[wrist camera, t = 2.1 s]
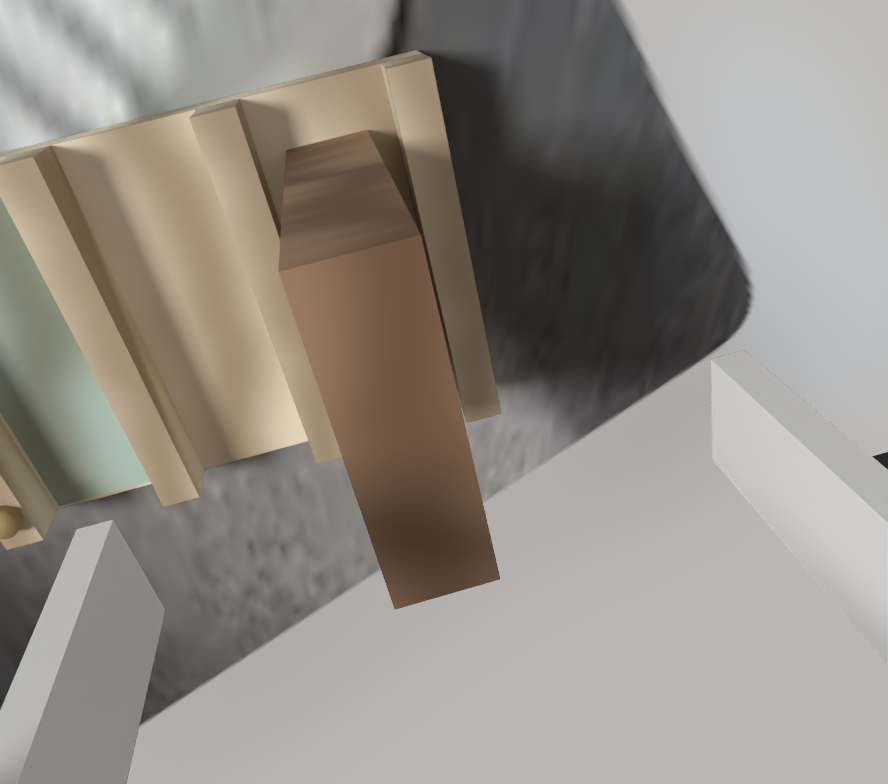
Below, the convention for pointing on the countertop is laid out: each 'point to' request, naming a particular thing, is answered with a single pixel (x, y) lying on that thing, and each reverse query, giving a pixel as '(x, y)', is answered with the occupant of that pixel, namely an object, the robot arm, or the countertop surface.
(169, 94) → the countertop surface
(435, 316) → the wooden block
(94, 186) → the slotted rack
